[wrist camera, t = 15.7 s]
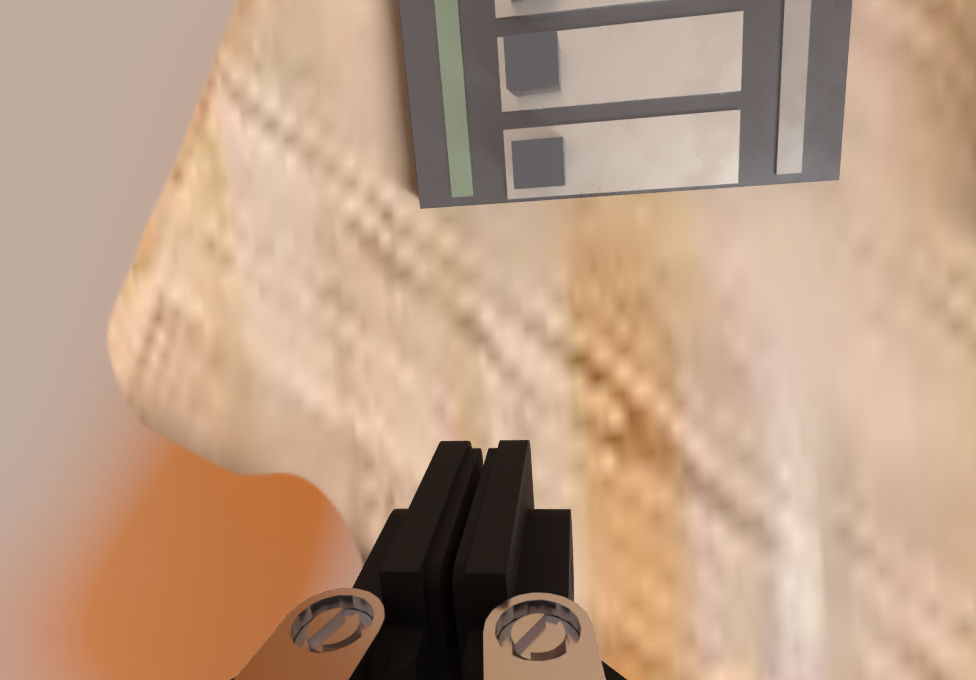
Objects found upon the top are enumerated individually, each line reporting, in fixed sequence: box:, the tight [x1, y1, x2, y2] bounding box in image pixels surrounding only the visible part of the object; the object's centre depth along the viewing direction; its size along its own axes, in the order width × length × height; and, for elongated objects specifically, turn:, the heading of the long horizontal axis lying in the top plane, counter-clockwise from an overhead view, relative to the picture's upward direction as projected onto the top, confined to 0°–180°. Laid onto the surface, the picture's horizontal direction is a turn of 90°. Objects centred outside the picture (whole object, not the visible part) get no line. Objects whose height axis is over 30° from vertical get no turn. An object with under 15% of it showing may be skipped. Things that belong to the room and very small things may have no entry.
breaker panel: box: [399, 0, 852, 209], centre depth 33 cm, size 13×22×2 cm, turn 94°
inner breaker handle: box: [511, 137, 566, 189], centre depth 32 cm, size 2×2×4 cm
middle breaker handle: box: [503, 30, 561, 96], centre depth 30 cm, size 2×2×4 cm
